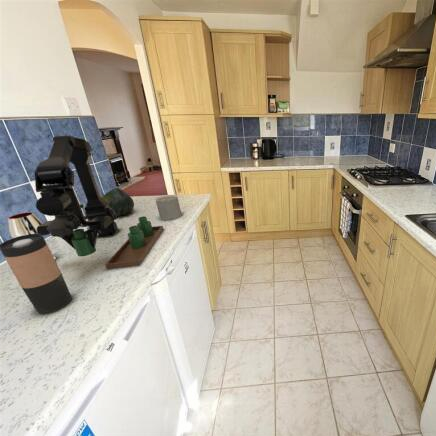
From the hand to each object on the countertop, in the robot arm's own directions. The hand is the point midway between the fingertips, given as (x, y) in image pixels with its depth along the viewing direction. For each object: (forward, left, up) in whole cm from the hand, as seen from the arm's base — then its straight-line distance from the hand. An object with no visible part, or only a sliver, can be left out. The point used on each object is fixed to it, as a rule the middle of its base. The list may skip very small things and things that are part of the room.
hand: (85, 247), depth 82 cm
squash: (-11, +50, -7) cm, 51 cm away
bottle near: (+12, +19, -6) cm, 23 cm away
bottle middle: (+12, +10, -6) cm, 17 cm away
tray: (+12, +10, -6) cm, 17 cm away
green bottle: (0, 0, -2) cm, 2 cm away
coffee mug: (+16, +42, -7) cm, 45 cm away
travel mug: (+1, -20, -7) cm, 21 cm away
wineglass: (-18, +6, -7) cm, 20 cm away
